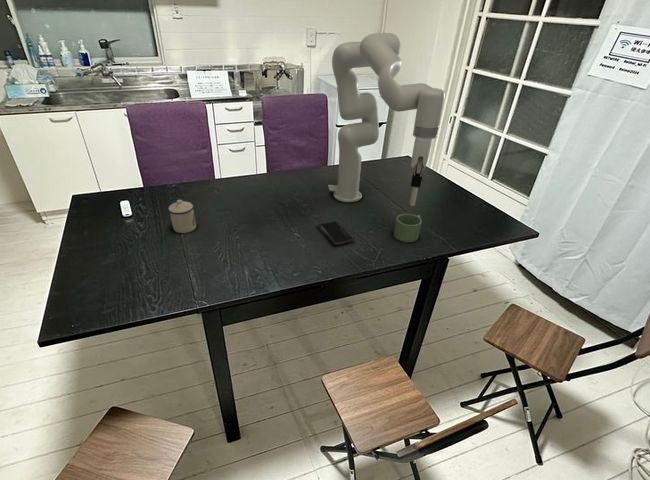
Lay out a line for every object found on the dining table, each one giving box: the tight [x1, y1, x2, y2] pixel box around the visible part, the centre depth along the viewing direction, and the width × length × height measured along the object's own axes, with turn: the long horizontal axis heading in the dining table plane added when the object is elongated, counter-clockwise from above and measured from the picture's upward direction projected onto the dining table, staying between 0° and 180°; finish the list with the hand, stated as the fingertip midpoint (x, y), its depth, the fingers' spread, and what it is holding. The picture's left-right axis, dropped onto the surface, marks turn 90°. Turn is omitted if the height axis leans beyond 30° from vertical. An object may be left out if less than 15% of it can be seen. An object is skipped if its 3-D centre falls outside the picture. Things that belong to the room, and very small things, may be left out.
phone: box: [318, 220, 353, 247], centre depth 144 cm, size 8×1×15 cm
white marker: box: [408, 166, 422, 207], centre depth 132 cm, size 2×2×14 cm
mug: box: [393, 213, 423, 243], centre depth 143 cm, size 12×9×7 cm
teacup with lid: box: [168, 199, 197, 234], centre depth 145 cm, size 12×9×12 cm
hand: (415, 184), depth 132 cm, fingers closed on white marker, 2 cm apart
